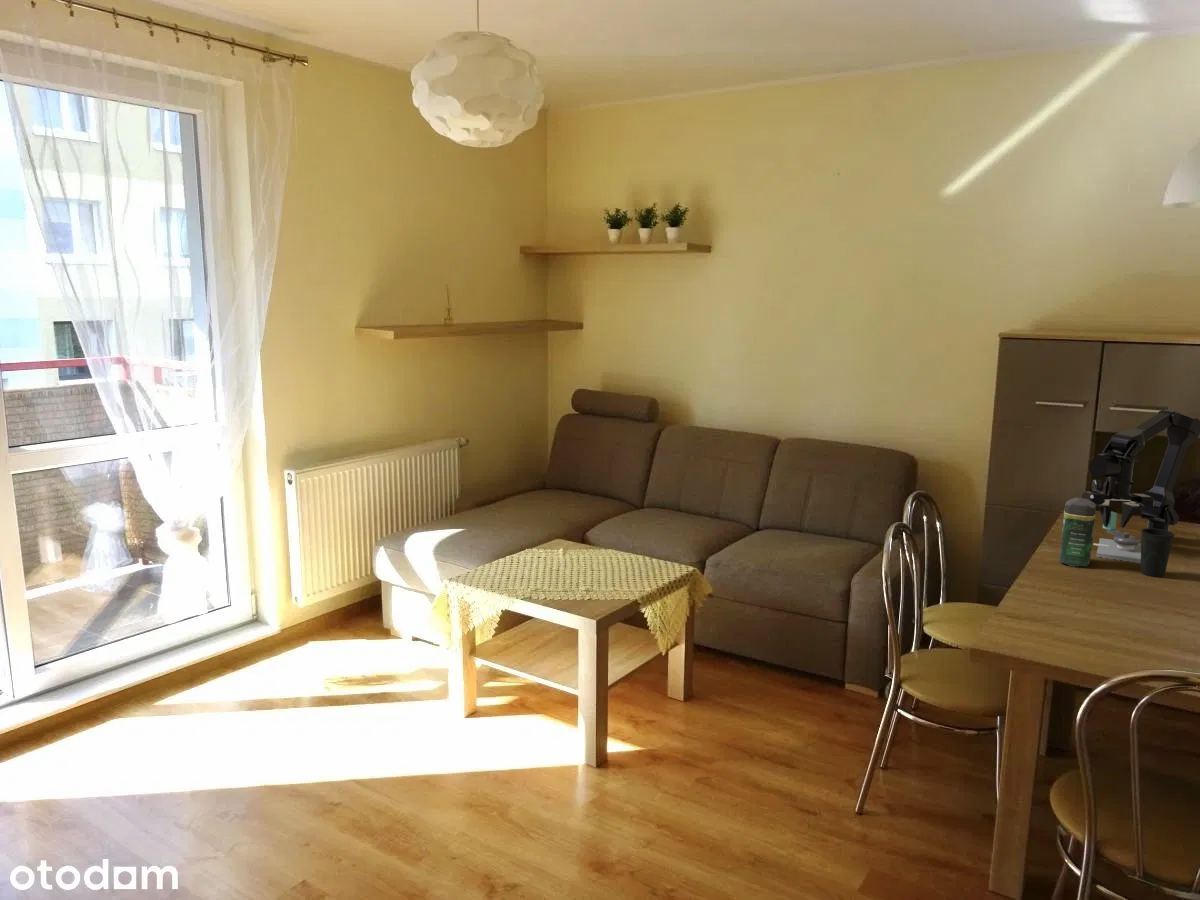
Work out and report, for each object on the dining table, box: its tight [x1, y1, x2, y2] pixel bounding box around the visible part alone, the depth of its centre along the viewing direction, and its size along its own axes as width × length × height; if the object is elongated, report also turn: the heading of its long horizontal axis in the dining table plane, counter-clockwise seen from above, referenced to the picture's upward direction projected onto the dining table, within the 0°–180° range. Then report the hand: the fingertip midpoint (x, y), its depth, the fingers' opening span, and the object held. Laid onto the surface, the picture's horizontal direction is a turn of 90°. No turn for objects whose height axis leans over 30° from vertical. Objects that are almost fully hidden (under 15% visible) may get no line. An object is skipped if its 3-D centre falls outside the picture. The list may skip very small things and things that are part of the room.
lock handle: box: [1102, 510, 1140, 545], centre depth 260 cm, size 6×10×8 cm, turn 21°
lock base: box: [1092, 537, 1141, 564], centre depth 260 cm, size 18×15×3 cm
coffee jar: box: [1058, 497, 1097, 567], centre depth 249 cm, size 10×8×19 cm
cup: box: [1140, 527, 1175, 578], centre depth 240 cm, size 8×8×12 cm
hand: (1113, 527), depth 264 cm, fingers open, 5 cm apart
